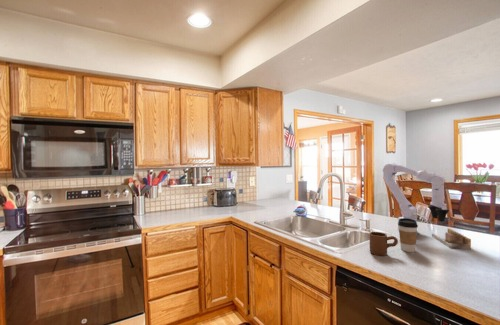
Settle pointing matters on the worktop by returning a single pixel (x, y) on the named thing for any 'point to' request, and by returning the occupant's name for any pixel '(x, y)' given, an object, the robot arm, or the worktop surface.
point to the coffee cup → (407, 234)
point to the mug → (380, 243)
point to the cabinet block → (453, 238)
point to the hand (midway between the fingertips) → (438, 219)
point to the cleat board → (465, 244)
